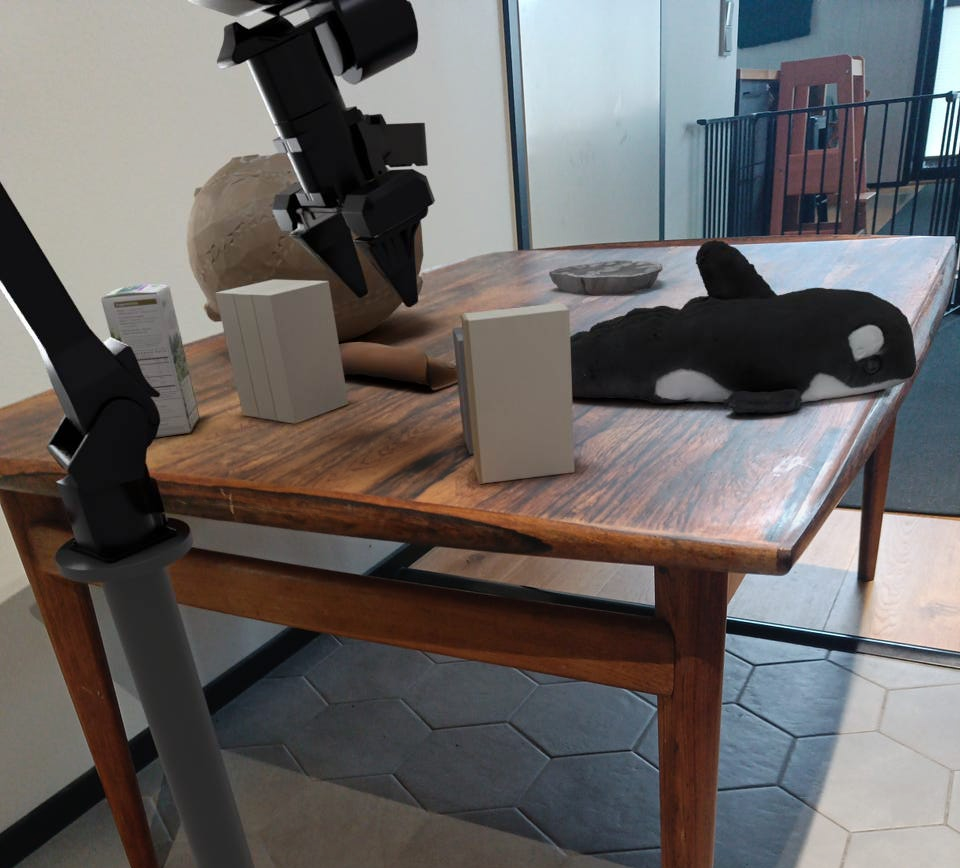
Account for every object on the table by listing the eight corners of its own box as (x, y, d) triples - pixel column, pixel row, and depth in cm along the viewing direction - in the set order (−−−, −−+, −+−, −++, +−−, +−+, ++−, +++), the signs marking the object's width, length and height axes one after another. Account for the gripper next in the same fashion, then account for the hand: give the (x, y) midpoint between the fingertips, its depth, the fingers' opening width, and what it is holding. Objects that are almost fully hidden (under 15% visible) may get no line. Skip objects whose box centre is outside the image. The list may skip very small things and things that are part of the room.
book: (479, 484, 73) (464, 320, 67) (475, 472, 76) (460, 313, 69) (574, 472, 74) (569, 308, 67) (567, 461, 76) (561, 302, 70)
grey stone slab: (686, 280, 151) (686, 261, 150) (631, 298, 140) (631, 278, 139) (591, 277, 163) (591, 259, 161) (534, 293, 152) (533, 275, 151)
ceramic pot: (219, 377, 117) (169, 163, 104) (203, 336, 145) (163, 163, 132) (459, 339, 125) (440, 136, 112) (400, 307, 153) (380, 141, 140)
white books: (295, 424, 94) (269, 295, 88) (242, 415, 99) (215, 292, 93) (348, 404, 99) (328, 280, 93) (296, 396, 104) (273, 279, 98)
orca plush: (893, 429, 76) (920, 246, 69) (480, 403, 95) (467, 258, 87) (921, 367, 92) (946, 213, 85) (562, 356, 110) (557, 229, 103)
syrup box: (149, 425, 99) (111, 287, 92) (202, 419, 99) (168, 281, 92) (138, 440, 94) (96, 296, 87) (194, 433, 94) (157, 289, 87)
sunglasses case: (477, 371, 105) (453, 327, 100) (446, 415, 103) (420, 372, 98) (373, 359, 116) (346, 319, 111) (343, 399, 114) (314, 360, 109)
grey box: (469, 454, 80) (458, 340, 75) (462, 435, 85) (452, 328, 80) (556, 444, 81) (551, 330, 76) (544, 425, 86) (539, 318, 81)
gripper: (450, 53, 64) (516, 263, 74) (338, 78, 78) (406, 252, 88) (326, 118, 61) (412, 329, 71) (233, 132, 75) (315, 307, 85)
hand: (387, 300), depth 79 cm, fingers open, 9 cm apart
